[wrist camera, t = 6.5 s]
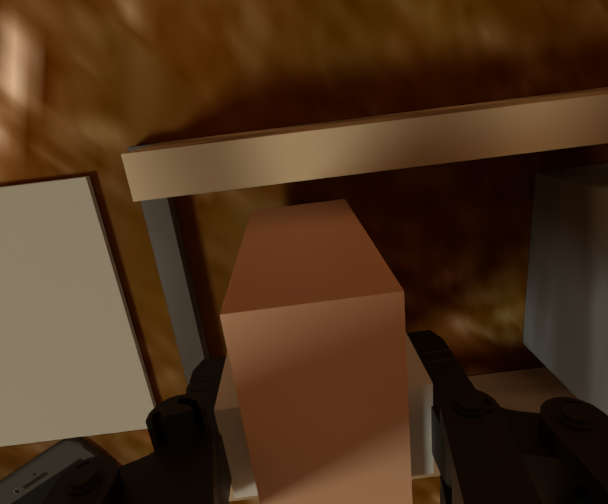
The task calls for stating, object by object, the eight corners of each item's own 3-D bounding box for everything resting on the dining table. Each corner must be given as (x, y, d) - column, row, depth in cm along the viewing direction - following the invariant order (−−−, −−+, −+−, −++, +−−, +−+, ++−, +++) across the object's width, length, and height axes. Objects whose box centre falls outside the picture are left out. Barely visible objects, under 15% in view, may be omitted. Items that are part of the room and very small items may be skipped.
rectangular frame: (206, 432, 20) (158, 624, 13) (134, 145, 16) (-7, 183, 8) (590, 385, 20) (769, 550, 13) (632, 83, 16) (954, 64, 8)
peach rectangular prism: (280, 388, 18) (278, 592, 10) (251, 210, 15) (219, 315, 8) (360, 377, 18) (415, 573, 11) (345, 198, 15) (403, 291, 8)
